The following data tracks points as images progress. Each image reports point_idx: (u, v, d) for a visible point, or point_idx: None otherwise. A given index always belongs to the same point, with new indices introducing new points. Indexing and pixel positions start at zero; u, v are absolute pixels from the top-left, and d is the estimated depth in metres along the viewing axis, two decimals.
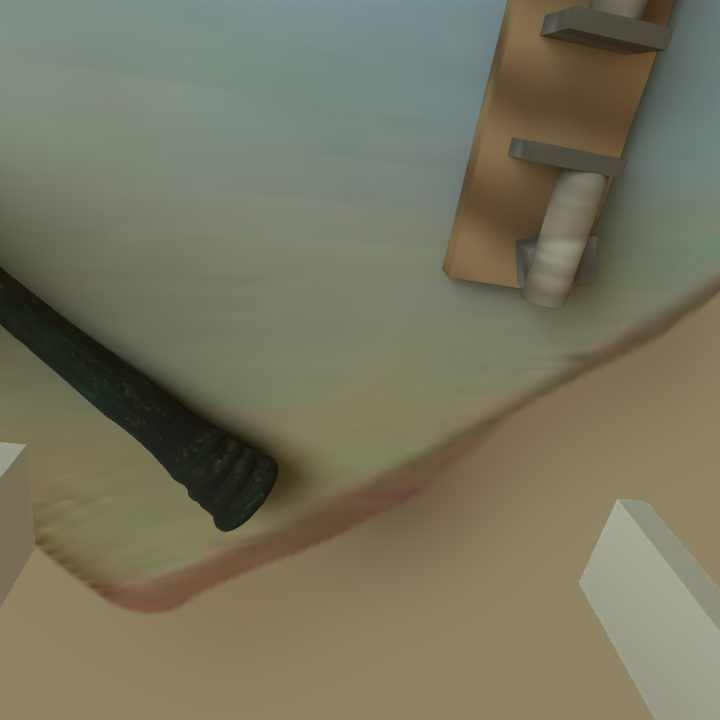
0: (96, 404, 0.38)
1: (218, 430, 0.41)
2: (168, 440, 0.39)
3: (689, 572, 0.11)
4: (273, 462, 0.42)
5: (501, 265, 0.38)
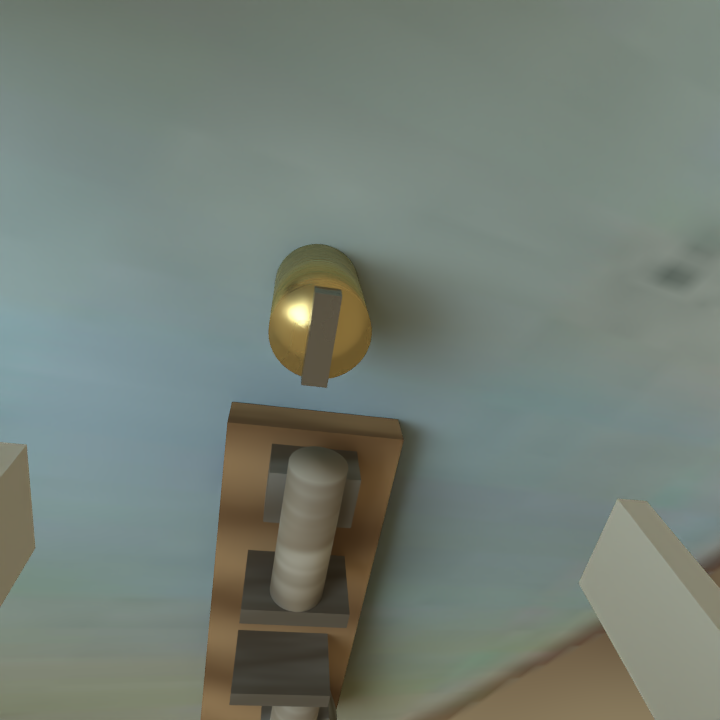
0: None
1: None
2: None
3: (689, 572, 0.11)
4: None
5: (253, 711, 0.38)
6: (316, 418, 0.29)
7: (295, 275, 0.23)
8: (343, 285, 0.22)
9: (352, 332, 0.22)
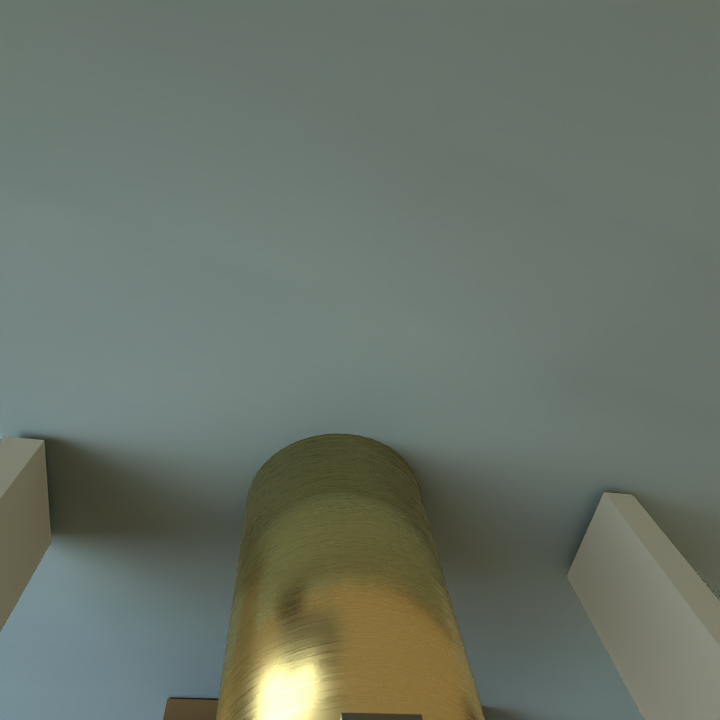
0: None
1: None
2: None
3: (672, 563, 0.11)
4: None
5: None
6: None
7: (284, 599, 0.08)
8: (422, 672, 0.07)
9: None
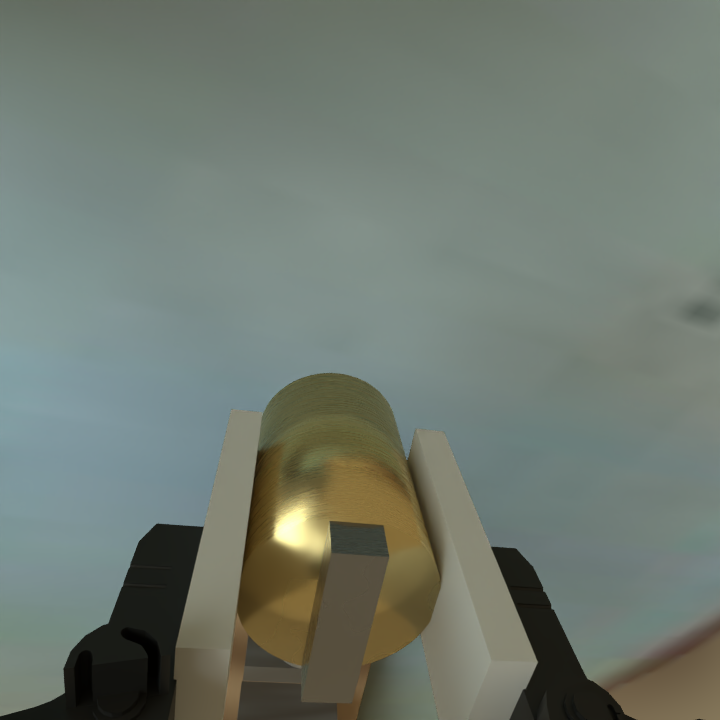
0: None
1: None
2: None
3: (448, 484, 0.12)
4: None
5: None
6: None
7: (291, 468, 0.12)
8: (386, 505, 0.11)
9: (402, 594, 0.11)
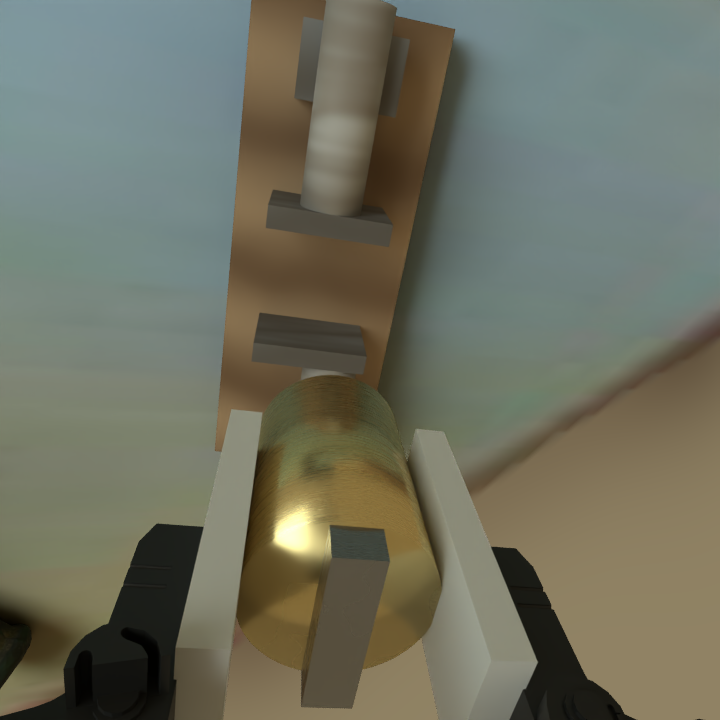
0: None
1: None
2: None
3: (448, 483, 0.12)
4: (18, 641, 0.38)
5: None
6: None
7: (290, 471, 0.12)
8: (386, 509, 0.11)
9: (402, 599, 0.11)
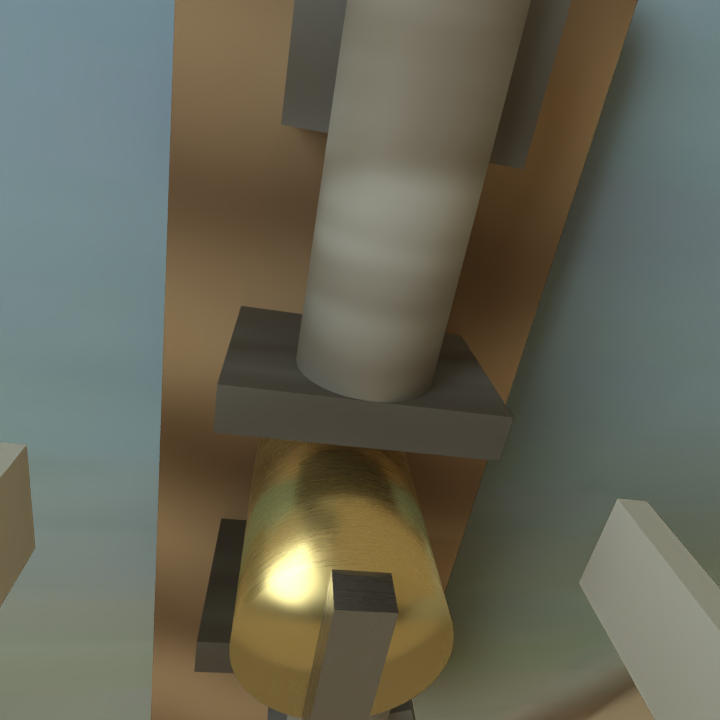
0: None
1: None
2: None
3: (689, 572, 0.11)
4: None
5: (252, 698, 0.19)
6: None
7: (289, 504, 0.11)
8: (393, 548, 0.10)
9: (411, 644, 0.10)
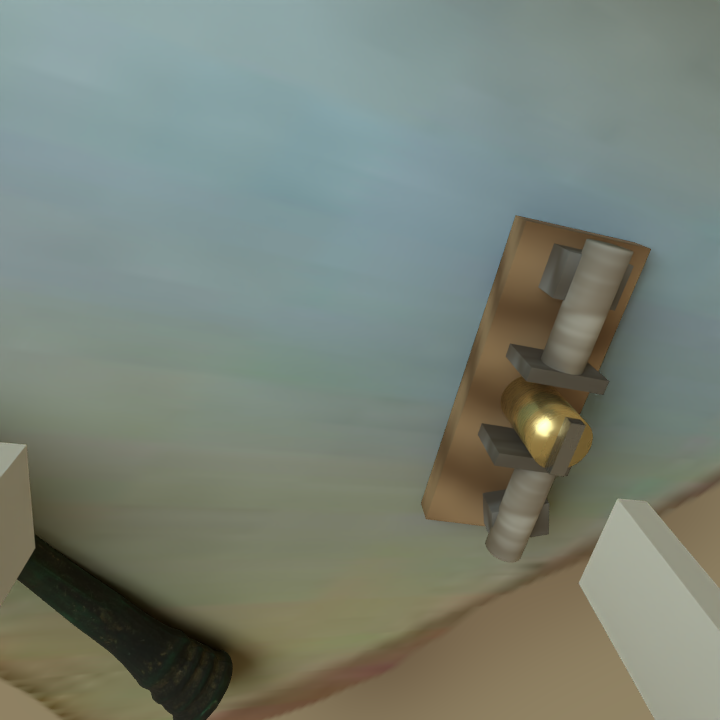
0: None
1: (181, 638, 0.47)
2: (136, 655, 0.45)
3: (689, 572, 0.11)
4: (228, 664, 0.48)
5: (470, 510, 0.45)
6: (581, 231, 0.37)
7: (541, 404, 0.36)
8: (577, 415, 0.35)
9: (580, 443, 0.36)
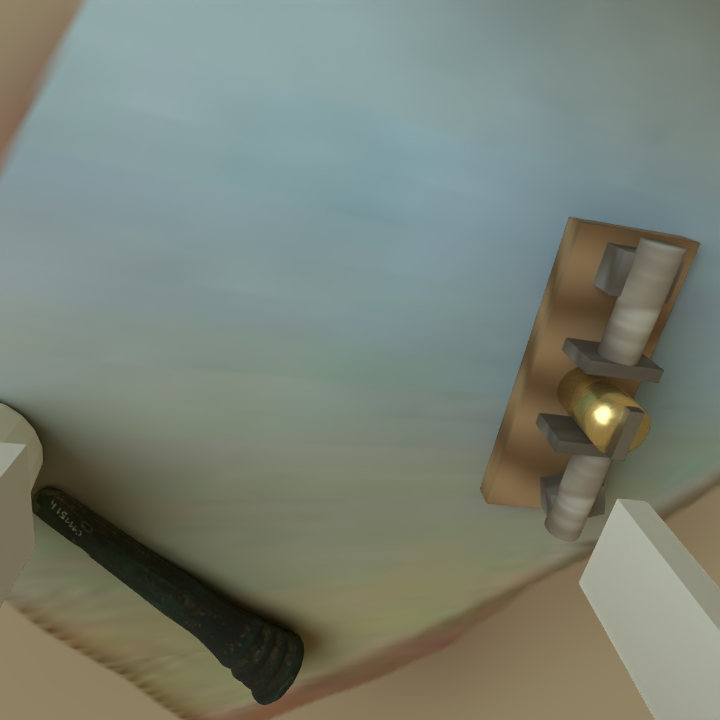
0: (162, 612, 0.48)
1: (256, 621, 0.51)
2: (218, 638, 0.49)
3: (689, 572, 0.11)
4: (300, 643, 0.52)
5: (528, 494, 0.47)
6: (632, 229, 0.39)
7: (600, 394, 0.39)
8: (635, 403, 0.38)
9: (638, 429, 0.38)
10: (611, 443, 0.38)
